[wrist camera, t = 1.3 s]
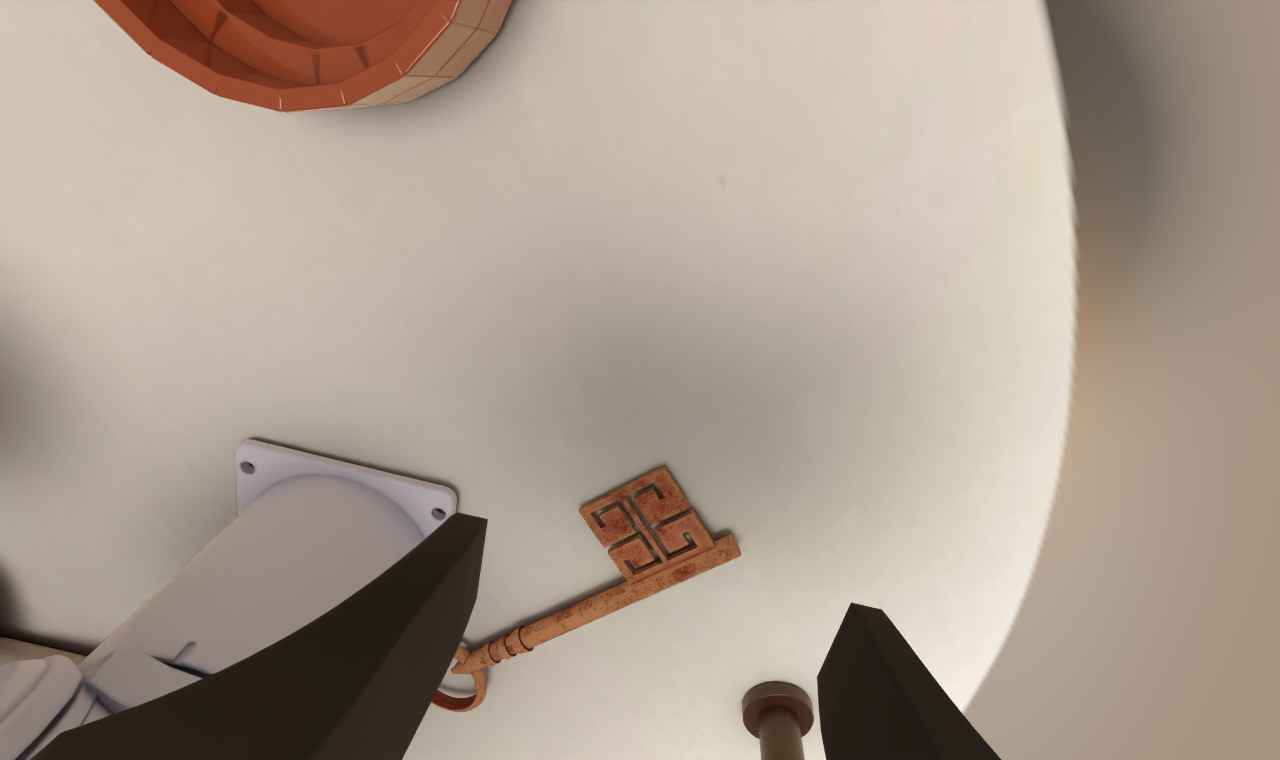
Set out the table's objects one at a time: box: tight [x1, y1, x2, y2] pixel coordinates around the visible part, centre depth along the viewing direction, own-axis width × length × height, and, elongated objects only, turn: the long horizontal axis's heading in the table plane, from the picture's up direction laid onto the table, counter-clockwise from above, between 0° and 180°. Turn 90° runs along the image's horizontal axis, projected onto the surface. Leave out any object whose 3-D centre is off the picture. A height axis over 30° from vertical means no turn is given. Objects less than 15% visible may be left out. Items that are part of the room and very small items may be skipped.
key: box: [431, 466, 741, 712], centre depth 25 cm, size 6×1×15 cm
